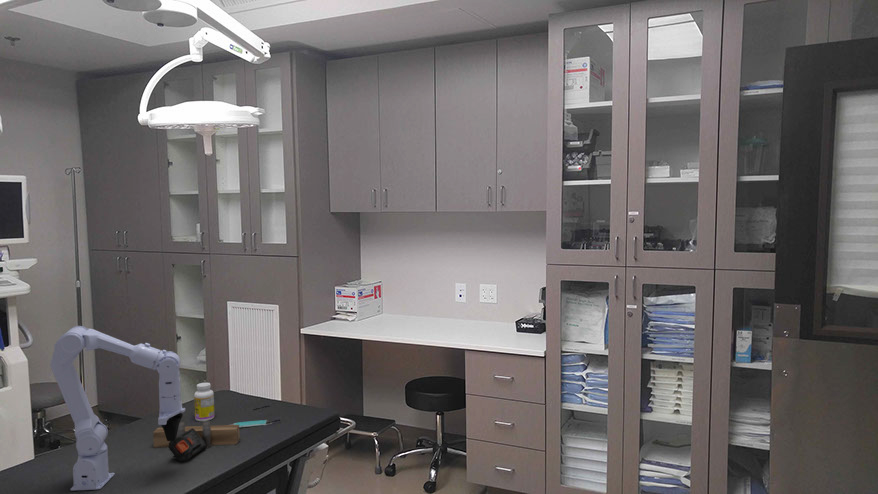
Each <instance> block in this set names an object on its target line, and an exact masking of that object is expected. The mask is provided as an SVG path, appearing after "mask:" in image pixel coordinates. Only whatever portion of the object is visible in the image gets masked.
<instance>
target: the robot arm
mask: <svg viewBox="0 0 878 494" xmlns="http://www.w3.org/2000/svg"><path fill="white" fill-rule="evenodd" d="M84 348H85V352H88V351H93V350H97V349H101V350H102V349H103V350H104V351H108V352H113V353H115V354H118V355H123V356H125V357H129V360H130V361H131V363H132V364H135V365H138V366H141V367H145V368H147V369H150V370H153V371H157V372H158V374H159V380H158V392H159V393H158V394H159V395H158V396H159V397H158V398H159V399H158V400H159V411H158V415H159V416H158V419H157V423H158V424H157V425H158V426H161V428H163V430H164V432H165V436H166V439H167V441H175V440H176V437H177V432H178V427H179V423H180V422H181V421H182V418H183V417H184V416H183V413H184V412H186V407H183V401H182V396H181V395H182V393H181V392H182V391H181V390H182V389H181V377H180V376H181V373H180V365H181V358H180V355H178V354H177V353H176V352H174V351H168V350H166V349H163V350H161V349H158V348H156V347H153V346H151V343H148V342H145V343H138V344H136V345H133V344H132V343H128V342H126V341H123V340H121V339H118V338H116V337H114V336H111V335H108V334H107V333H106V334H105V333H103V332H101V331H98V330H96V329H94V328H87V327H86V326H82V325H76V326H73V327H71V328H70V329H68V331H67V332H66V333H63V334H62V335H61V336H60V337H59V338H58V340H57V341H56V343H55V344H54V345H53V349H54V350H53V353H52V357H51V360H50V365H49V366H50V368H51V369H50V370H51V372H52V374H53V376H54V378H55V381H56V383H57V386H58V388H59V390H60V393H61V395H62V397H63V400H64V402H65V405H66V407H67V409H68V412H69V413H70V416H71V419H72V421H73V423H74V435H75V438H76V442H75V447H76V450H77V455H78V457H77V461H76V462H75V463H74V465H73V468H72V476H73V477H72V478H73V479H72V481H73V485H72V487H70V489H69V490H70V491H72V492H73V491H91V490H93V491H95V490H101V489H102V488H103V487H104V486H105V485H106V484H107V483H108V482H109V481H110V480H111V479H112V478H113V477H114V476H115V472H109V470H110V469H109V455H108V454H109V452H108V451H109V450H108V445H107V444H106V443H105V440H106V439H107V437H108V434H109V433H108V432H109V431H108V427H107V426H106V425H105V424H103V422H102V421H100V418H99V417H98V415H96V414H95V413H94V410H93V408H92V406H91V403H90V401H89V399H88V396H87V393H86V392H85V388H84V386H83V384H82V382H81V380H80V377H79V374H78V372H77V369H76V367H75V365H74V362H75V361H76V359H77V357H78V356H79V354H80V353H81V352H82V351H83V349H84Z"/></svg>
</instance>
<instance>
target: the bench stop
mask: <svg viewBox="0 0 878 494" xmlns="http://www.w3.org/2000/svg"><path fill="white" fill-rule="evenodd" d="M185 424H186V423H185V422H184V421H180V423H179V427H178V432H177V437H178V436H180V435H181V434H183V433H184V432H186V431H188V430H190V429H192V428H193V429H194V430H195V431H197V434H198V435H199V436H200V437H201V438H202V440H204V442H205V444H206V446H205V447H204V448H203V449H210V448H211V447H212V446H222V445H227V446H228V445H237V444H238V443H239V441H240V440H241V439H240V438H241V437H240V428H239V425H232V424H225V425H224V424H223V425H222V424H219V425H211V420H209V421H203V422H202V425H200V426H199V425H198V426H197V425H196V426H195V425H194V426H186V425H185ZM152 435H153V437H152V439H153V440H152V441H153V448H169V442H170V441H167V439H166V436H165V432H164V430H163V428H162V427H157V428H156V429H154V431H153V434H152Z"/></svg>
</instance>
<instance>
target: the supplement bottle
mask: <svg viewBox="0 0 878 494" xmlns="http://www.w3.org/2000/svg"><path fill="white" fill-rule="evenodd" d="M211 387H212V384H211V383H210V382H200V383H198V384H196V389H197V390H196V391H195V392H194V394H193V397H194V398H193V399H194V400H193V401H194V419H195V421H197V422H199V423H200V422H202V423H203V422H206V421H211V420H213V419H214V418H215V396H214V395H215V394H214V391H213V390H212V389H211Z"/></svg>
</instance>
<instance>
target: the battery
mask: <svg viewBox="0 0 878 494" xmlns="http://www.w3.org/2000/svg"><path fill="white" fill-rule="evenodd" d="M205 446H206V444H205V442H204V440H202V438H201V437H200V436H199V435H198V434H197V431H195V430H194V429H193V428H192V429H190V430H188V431H186V432H184V433H183V434H181V435H180V436H178V437H176V440H175V441H170V442H169V447H168V450H169V451H170V452H171V453H172V454H173V456H172V457H173V458H174V459H176V461H177V460H178V461H180V462H185V461H187V460H189V459H190V458H191V457H193V456H194V455H196V454H197V453H199V452H200V451H202V450H203V449H205V448H204V447H205Z"/></svg>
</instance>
